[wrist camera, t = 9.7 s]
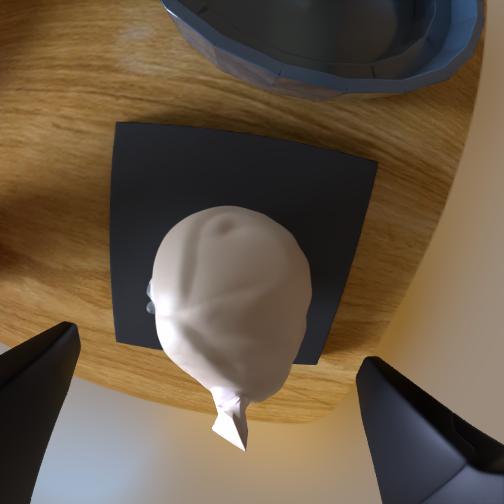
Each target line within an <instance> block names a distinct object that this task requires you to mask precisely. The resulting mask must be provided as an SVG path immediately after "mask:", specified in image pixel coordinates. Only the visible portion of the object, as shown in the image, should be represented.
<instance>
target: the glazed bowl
mask: <svg viewBox="0 0 504 504" xmlns="http://www.w3.org/2000/svg"><path fill="white" fill-rule="evenodd" d="M160 1H161V2H162V4H163V6H164V7H165V9H166V10H167V12H168V14H169V15H170V17H171V18H172V20H173V22H174V23H175V25H176V26H177V28H178V30H179V31H180V33H181V35H182V36H183V38H184V39H185V40H186V42H188V43H189V44H190V45H191V46H193V47H194V48H195V49H196V50H197V51H199V52H200V53H201V54H202V55H203V56H205V57H206V58H207V59H208V60H209V61H210V62H212V63H213V64H214V65H215V66H216V67H217V68H218V69H221V71H223V72H225V73H228V74H230V75H232V76H234V77H236V78H239V79H241V80H243V81H245V82H247V83H249V84H251V85H254V86H256V87H258V88H260V89H262V90H264V91H266V92H270V93H275V94H281V95H286V96H291V97H296V98H300V99H305V100H309V101H313V102H316V101H317V102H328V101H350V100H365V99H371V98H377V97H385V96H392V95H399V94H406V93H409V92H412V91H415V90H418V89H421V88H424V87H427V86H430V85H433V84H436V83H439V82H443V81H446V80H447V79H449V78H450V77H451V76H452V75H453V74H454V73H455V72H456V71H457V70H458V69H460V68H461V67H462V66H463V65H464V64H465V63H466V62H467V61H468V60H469V59H470V58H471V57H472V56H473V54H474V53H475V50H476V47H477V44H478V41H479V38H480V35H481V32H482V29H483V26H484V7H483V0H160Z"/></svg>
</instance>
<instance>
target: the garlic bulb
mask: <svg viewBox="0 0 504 504" xmlns="http://www.w3.org/2000/svg"><path fill="white" fill-rule="evenodd" d="M147 295H148V296H149V297H150V298H151V300H152V301H151V302H149V303H148V305H147V311H148V312H149V313H152V314H156V315H155V317H156V328H157V334H158V337H159V340H160V343H161V345H162V347H163V349H164V351H165V353H166V354H167V355H168V356H169V357H170V359H171V360H172V361H173V362H175V363H176V364H177V365H178V366H179V367H180V368H182V369H183V370H184V371H185V372H187V373H188V374H189V375H191V376H192V377H194V378H195V379H196V380H198V381H199V382H200V383H201V384H202V385H203V386H204V387H205V388H207V389H208V390H210V391H211V392H212V394H213V399H214V401H215V404H216V407H217V411H218V414H219V415H218V417H217V420H216V422H215V424H214V426H213V428H212V430H214V431H215V432H216V433H218V434H219V435H221V436H222V437H224V438H225V439H227V440H228V441H230V442H231V443H233V444H234V445H236V446H238V447H239V448H240V449H242V450H244V451H246V445H247V435H248V429H247V422H246V415H245V411H246V407H247V406H248V405H249V403H257V402H261V401H264V400H266V399H267V398H268V397H270V396H272V395H273V394H275V393H277V392H278V391H279V390H280V389H281V387H282V386H283V384H284V382H285V381H286V379H287V377H288V374H289V372H290V369H291V366H292V363H293V361H294V359H295V358H296V356H297V354H298V351H299V348H300V345H301V342H302V340H303V338H304V335H305V331H306V314H307V311H308V307H309V305H310V302H311V297H312V287H311V277H310V268H309V263H308V260H307V258H306V257H305V255H304V253H303V252H302V250H301V249H300V247H299V246H298V244H297V241H296V239H295V238H294V236H293V235H292V234H291V233H290V232H289V231H288V230H287V229H285V228H284V227H283V226H282V225H280V224H278V223H277V222H275V221H274V220H272V219H271V218H269V217H268V216H266V215H264V214H262V213H259V212H255V211H252V210H249V209H246V208H242V207H237V206H218V207H213V208H209V209H206V210H203V211H200V212H197V213H195V214H192V215H190V216H188V217H186V218H185V219H183V220H182V221H180V222H179V223H178V224H176V225H175V226H174V227H173V228H172V229H171V230H170V231H169V232H168V233H167V235H166V236H165V237H164V239H163V241H162V243H161V245H160V247H159V249H158V252H157V255H156V258H155V262H154V266H153V276H152V279H151V280H150V282H149V285H148V287H147Z"/></svg>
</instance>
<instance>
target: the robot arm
mask: <svg viewBox="0 0 504 504" xmlns="http://www.w3.org/2000/svg"><path fill="white" fill-rule="evenodd" d="M80 350H81V343H80V338H79V333H78V328H77V325H76V324H75V323H71V322H67V321H64V322H61V323H59V324H58V325H56V326H54V327H52V328H50V329H48V330H46V331H44V332H42V333H40V334H38V335H37V336H35V337H33V338H31V339H29V340H27V341H25V342H23V343H21V344H20V345H18V346H16V347H14V348H12V349H10V350H8V351H7V352H5V353H3V354H1V355H0V504H30V501H31V497H32V493H33V490H34V486H35V483H36V479H37V476H38V473H39V470H40V466H41V463H42V460H43V457H44V453H45V451H46V448H47V445H48V442H49V439H50V437H51V434H52V431H53V428H54V426H55V423H56V420H57V418H58V415H59V412H60V410H61V407H62V405H63V402H64V400H65V397H66V395H67V392H68V390H69V386H70V383H71V379H72V376H73V373H74V370H75V366H76V363H77V360H78V357H79V354H80ZM356 385H357V391H358V397H359V404H360V410H361V416H362V421H363V425H364V429H365V433H366V437H367V441H368V445H369V448H370V453H371V456H372V461H373V465H374V469H375V473H376V477H377V481H378V486H379V490H380V494H381V500H382V504H504V445H503V444H501V443H500V442H498V441H497V440H495V439H493V438H491V437H490V436H488V435H486V434H485V433H483V432H482V431H480V430H478V429H477V428H475V427H474V426H472V425H471V424H469V423H468V422H466V421H465V420H463V419H462V418H460V417H459V416H458V415H457V414H455V413H453V412H452V411H451V410H450V409H448V408H447V407H446V406H444V405H443V404H441V403H440V402H438V401H437V400H436V399H435V398H433V397H432V396H431V395H429V394H428V393H426V392H425V391H423V390H422V389H421V388H420V387H418V386H417V385H416V384H414V383H413V382H412V381H410V380H409V379H408V378H406V377H405V376H403V375H402V374H401V373H399V372H398V371H397V370H395V369H394V368H393V367H391V366H390V365H389V364H387V363H386V362H385V361H383V360H382V359H381V358H379V357H377V356H368V357H366V358H365V359H364V361H363V363H362V365H361V367H360V369H359V371H358V373H357V375H356Z"/></svg>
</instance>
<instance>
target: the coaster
mask: <svg viewBox="0 0 504 504" xmlns="http://www.w3.org/2000/svg"><path fill="white" fill-rule="evenodd" d="M377 166H378V162H377V161H373V160H370V159H366V158H362V157H358V156H355V155H351V154H347V153H343V152H338V151H334V150H330V149H326V148H321V147H317V146H312V145H307V144H302V143H297V142H292V141H287V140H282V139H276V138H271V137H265V136H259V135H253V134H246V133H240V132H233V131H225V130H218V129H209V128H201V127H191V126H181V125H169V124H156V123H139V122H116V126H115V135H114V145H113V157H112V171H111V189H110V272H111V291H112V304H113V316H114V326H115V335H116V342H120V343H125V344H130V345H135V346H141V347H146V348H152V349H158V350H164V349H163V347H162V345H161V343H160V340H159V337H158V334H157V328H156V317H155V315H156V314H152V313H149V312H148V311H147V305H148V303H149V302H151V301H152V300H151V298H150V297H149V296H148V295H147V287H148V285H149V282H150V280H151V279H152V276H153V266H154V262H155V258H156V255H157V252H158V249H159V247H160V245H161V243H162V241H163V239H164V237H165V236H166V235H167V233H168V232H169V231H170V230H171V229H172V228H173V227H174V226H175V225H176V224H178V223H179V222H180V221H182V220H183V219H185V218H186V217H188V216H190V215H192V214H195V213H197V212H200V211H203V210H206V209H209V208H213V207H218V206H237V207H242V208H246V209H249V210H252V211H255V212H259V213H262V214H264V215H266V216H268V217H269V218H271V219H272V220H274V221H275V222H277V223H278V224H280V225H282V226H283V227H284V228H285V229H287V230H288V231H289V232H290V233H291V234H292V235H293V236H294V238H295V239H296V241H297V244H298V246H299V247H300V249H301V250H302V252H303V253H304V255H305V257H306V258H307V260H308V263H309V268H310V277H311V287H312V297H311V302H310V305H309V307H308V311H307V314H306V331H305V335H304V338H303V340H302V342H301V345H300V348H299V351H298V354H297V356H296V358H295V359H294V361H293V363H292V364H306V365H317V363H318V360H319V358H320V355H321V352H322V350H323V347H324V345H325V342H326V339H327V336H328V334H329V331H330V328H331V326H332V323H333V320H334V317H335V314H336V311H337V308H338V305H339V303H340V300H341V297H342V294H343V291H344V287H345V284H346V281H347V278H348V275H349V272H350V268H351V265H352V262H353V259H354V255H355V252H356V248H357V245H358V241H359V238H360V234H361V231H362V227H363V223H364V220H365V216H366V212H367V208H368V204H369V200H370V196H371V192H372V188H373V184H374V179H375V175H376V171H377Z"/></svg>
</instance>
